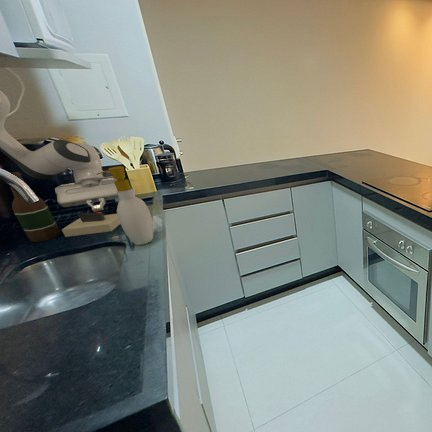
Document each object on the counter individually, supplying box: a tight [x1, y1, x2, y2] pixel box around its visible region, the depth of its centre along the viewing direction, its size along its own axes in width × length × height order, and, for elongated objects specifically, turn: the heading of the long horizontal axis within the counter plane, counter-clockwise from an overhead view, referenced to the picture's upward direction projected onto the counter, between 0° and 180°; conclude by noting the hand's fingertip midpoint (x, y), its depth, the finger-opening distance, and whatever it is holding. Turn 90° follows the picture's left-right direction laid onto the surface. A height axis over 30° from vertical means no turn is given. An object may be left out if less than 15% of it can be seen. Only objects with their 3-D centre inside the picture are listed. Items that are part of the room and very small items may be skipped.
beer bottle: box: [9, 171, 61, 243], centre depth 101 cm, size 8×8×24 cm
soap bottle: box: [97, 165, 154, 246], centre depth 98 cm, size 14×9×26 cm, turn 34°
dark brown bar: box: [78, 211, 105, 222], centre depth 111 cm, size 7×1×3 cm, turn 99°
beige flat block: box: [61, 213, 121, 238], centre depth 112 cm, size 14×11×3 cm
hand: (98, 210), depth 114 cm, fingers closed
